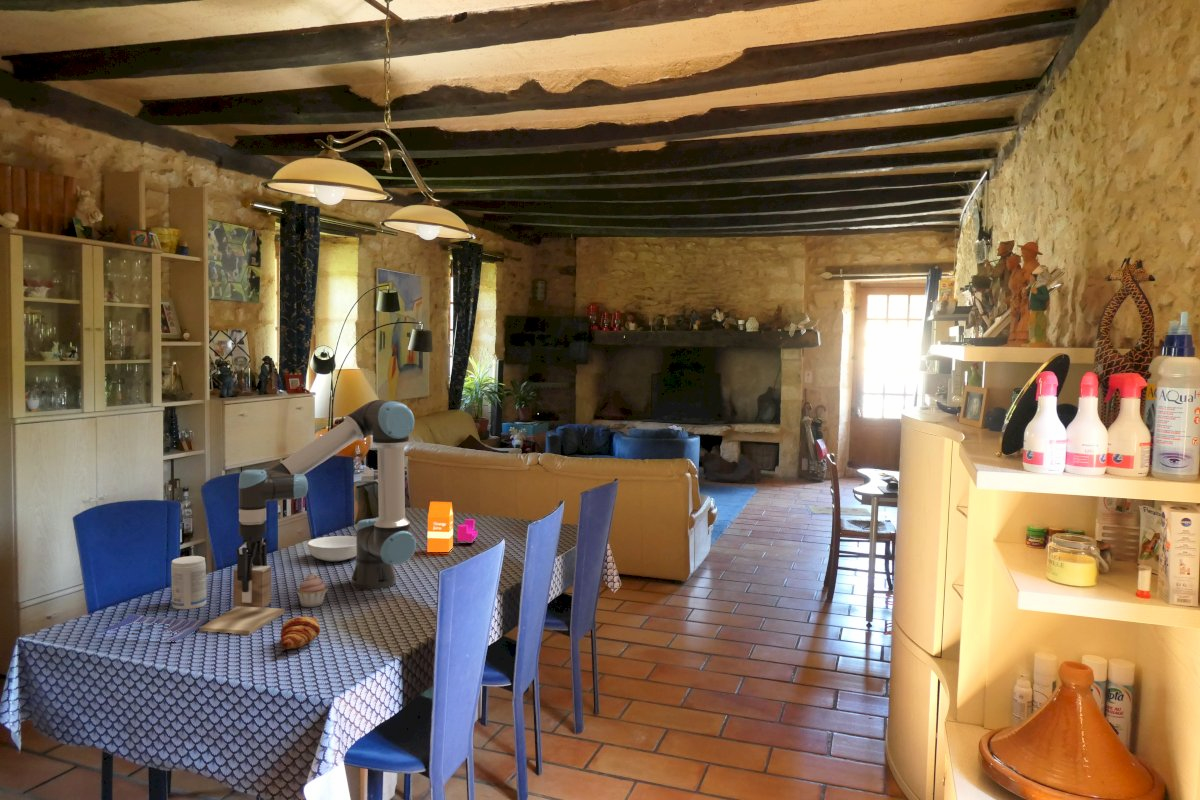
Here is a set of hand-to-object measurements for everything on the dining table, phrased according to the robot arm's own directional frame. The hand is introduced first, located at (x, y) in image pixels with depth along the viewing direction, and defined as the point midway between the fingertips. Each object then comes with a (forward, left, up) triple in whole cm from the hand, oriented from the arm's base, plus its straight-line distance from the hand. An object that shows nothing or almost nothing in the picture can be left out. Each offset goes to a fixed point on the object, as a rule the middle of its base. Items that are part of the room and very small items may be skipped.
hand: (252, 599), depth 243 cm
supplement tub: (+24, -6, -6) cm, 25 cm away
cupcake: (-12, -14, -6) cm, 19 cm away
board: (0, +5, -5) cm, 7 cm away
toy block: (-36, -112, -6) cm, 118 cm away
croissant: (-26, +18, -5) cm, 32 cm away
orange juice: (-30, -90, -6) cm, 95 cm away
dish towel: (+20, +17, -6) cm, 27 cm away
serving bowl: (+5, -70, -6) cm, 70 cm away
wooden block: (0, 0, -2) cm, 2 cm away
